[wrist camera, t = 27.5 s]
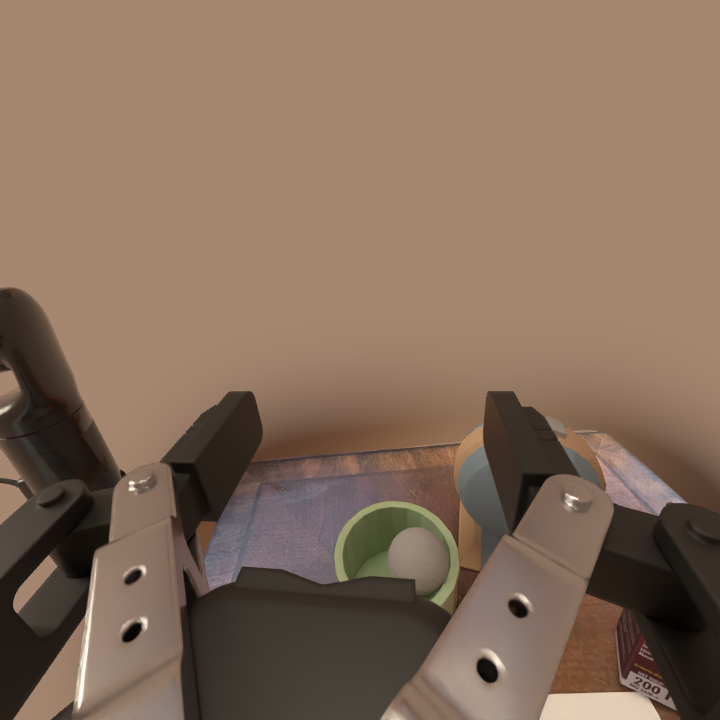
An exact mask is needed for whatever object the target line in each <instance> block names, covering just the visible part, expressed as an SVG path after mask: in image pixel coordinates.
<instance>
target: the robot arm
mask: <svg viewBox="0 0 720 720" xmlns="http://www.w3.org/2000/svg"><path fill="white" fill-rule="evenodd" d="M7 371H13V374H14V375H15V378H16V380H17V383H18V385H19V387H17V388H15V389H13V390H12V391H9V392H8V393H6V394H4V395H2V396H0V449H1V450H2V452H3V453H4V454H5V455H6V457H7V458H8V460H9V461H10V463H11V464H12V465H13V467H14V468H15V469H16V471H17V472H18V474H19V475H20V477H21V478H20V479H19V480H18V481H16V480H11V479H3V478H0V483H5V484H10V485H14V486H16V487H18V488H19V489H20V490H21V491H22V493H23V494H24V496H25V497H26V498H27V500H28V501H27V502H26V503H24V504H23V505H22V506H21V507H20V508H19V509H18V510H17V511H15V512H14V513H13V514H12V515H11V516H10V517H9V518H8V519H6V520H5V521H4V522H3V523H2V524H1V525H0V720H13V719H14V717H15V716H16V715H17V713H18V712H19V710H20V709H21V707H22V706H23V704H24V703H25V701H26V700H27V699H28V697H29V696H30V694H31V693H32V691H33V690H34V688H35V687H36V686H37V684H38V683H39V681H40V680H41V678H42V677H43V675H44V674H45V673H46V671H47V670H48V668H49V667H50V665H51V664H52V662H53V661H54V660H55V658H56V657H57V655H58V654H59V652H60V651H61V649H62V648H63V646H64V645H65V643H66V642H67V641H68V639H69V638H70V636H71V635H72V633H73V632H74V630H75V629H76V628H77V626H78V625H79V623H80V622H81V620H82V619H83V618H84V616H85V615H86V618H85V626H84V633H83V641H82V648H81V656H80V663H79V671H78V678H77V685H76V693H75V700H74V701H73V702H71V703H70V704H69V705H68V706H67V707H66V708H64V709H63V710H62V711H61V712H59V713H58V714H57V715H56V716H55V717H54V718H52V719H51V720H539V719H540V716H541V714H542V711H543V708H544V705H545V703H546V700H547V697H548V694H549V691H550V689H551V686H552V683H553V680H554V678H555V675H556V672H557V669H558V667H559V664H560V661H561V658H562V655H563V653H564V650H565V647H566V644H567V642H568V639H569V636H570V633H571V630H572V628H573V625H574V622H575V619H576V617H577V614H578V611H579V608H580V606H581V603H582V600H583V597H584V594H585V593H586V594H589V595H591V596H594V597H597V598H599V599H602V600H605V601H607V602H610V603H613V604H615V605H618V606H621V607H624V608H626V609H629V610H630V611H631V613H632V615H633V617H634V620H635V622H636V624H637V626H638V628H639V630H640V632H641V635H642V637H643V639H644V641H645V643H646V645H647V647H648V650H649V652H650V654H651V656H652V658H653V660H654V662H655V664H656V667H657V669H658V671H659V673H660V675H661V677H662V679H663V682H664V684H665V686H666V688H667V690H668V692H669V694H670V697H671V699H672V701H673V703H674V705H675V707H676V709H677V712H678V714H679V716H680V718H681V720H720V515H719V514H717V513H714V512H712V511H710V510H708V509H705V508H702V507H699V506H695V505H691V504H684V503H675V504H670V505H667V506H665V507H664V508H663V509H662V511H661V513H660V515H659V516H656V515H652V514H648V513H644V512H641V511H637V510H633V509H629V508H626V507H623V506H619V505H617V504H614V503H612V501H611V499H610V497H609V496H608V495H607V494H606V493H605V492H604V491H603V490H602V489H601V488H600V487H598V486H597V485H596V484H594V483H592V482H590V481H588V480H586V479H584V478H581V477H580V475H579V473H578V472H577V470H576V468H575V467H574V465H573V463H572V462H571V460H570V458H569V457H568V455H567V453H566V452H565V450H564V448H563V447H562V445H561V443H560V441H558V438H557V436H556V435H555V433H554V431H552V428H551V426H550V425H549V423H548V421H547V420H546V418H545V417H544V416H543V415H542V414H540V413H539V412H538V411H536V410H535V409H534V408H533V407H522V406H521V405H520V403H519V401H518V399H517V397H516V395H515V393H514V392H513V391H489V392H488V393H487V397H486V406H485V415H484V425H483V444H484V449H485V452H486V456H487V459H488V462H489V466H490V469H491V473H492V476H493V479H494V483H495V486H496V489H497V493H498V496H499V499H500V503H501V506H502V509H503V513H504V516H505V520H506V523H507V526H508V530H509V533H510V534H509V533H506V534H505V535H504V536H503V537H502V539H501V540H500V542H499V543H498V545H497V547H496V548H495V550H494V551H493V553H492V554H491V556H490V558H489V559H488V561H487V562H486V564H485V566H484V567H483V569H482V570H481V572H480V574H479V575H478V577H477V578H476V580H475V581H474V583H473V585H472V586H471V588H470V589H469V591H468V593H467V594H466V596H465V597H464V599H463V601H462V602H461V604H460V605H459V607H458V608H457V610H456V612H455V613H454V615H453V616H452V615H451V614H450V613H449V612H448V611H446V610H445V609H443V608H442V607H440V606H439V605H437V604H436V603H434V602H432V601H430V600H428V599H426V598H424V597H421V596H419V595H416V586H415V579H406V578H392V577H378V576H368V577H362V578H357V579H352V580H347V581H342V582H337V583H332V584H325V585H324V584H319V583H316V582H313V581H311V580H308V579H306V578H303V577H300V576H298V575H295V574H293V573H290V572H287V571H285V570H282V569H268V568H254V567H242V568H241V570H240V572H239V575H238V577H237V580H236V582H233V583H229V584H226V585H223V586H220V587H218V588H216V589H214V590H211V591H210V590H209V585H208V580H207V575H206V569H205V564H204V558H203V553H202V548H201V542H200V536H199V533H198V530H197V527H198V526H199V524H200V522H201V521H212V522H217V521H218V519H219V517H220V515H221V514H222V512H223V510H224V508H225V506H226V505H227V503H228V501H229V499H230V497H231V496H232V494H233V492H234V490H235V488H236V487H237V485H238V483H239V481H240V479H241V478H242V476H243V474H244V472H245V470H246V469H247V467H248V465H249V463H250V462H251V460H252V458H253V456H254V454H255V453H256V451H257V449H258V447H259V445H260V443H261V440H262V435H263V428H262V423H261V420H260V416H259V412H258V408H257V404H256V400H255V396H254V394H253V393H252V392H250V391H243V392H242V391H237V392H236V391H231V392H228V393H227V394H226V395H225V397H224V398H223V399H222V400H221V401H220V403H219V404H218V405H215V406H213V407H212V408H210V409H209V410H207V411H206V412H204V413H202V414H201V415H200V417H199V418H198V419H197V420H196V421H195V422H194V424H193V426H191V427H190V428H189V429H188V430H187V431H186V434H184V435H183V436H182V437H181V438H180V439H179V440H178V441H177V443H176V444H175V445H174V446H173V447H172V448H171V449H170V450H169V452H168V453H167V454H166V455H165V456H164V457H163V458H162V460H161V461H160V462H159V463H151V464H147V465H144V466H141V467H139V468H137V469H135V470H133V471H131V472H130V473H128V474H127V475H126V474H125V472H124V471H122V470H120V469H119V467H118V465H117V463H116V462H115V460H114V458H113V456H112V454H111V452H110V450H109V448H108V446H107V445H106V443H105V441H104V439H103V437H102V435H101V433H100V431H99V429H98V427H97V426H96V424H95V422H94V420H93V418H92V416H91V415H90V413H89V411H88V409H87V407H86V405H85V403H84V401H83V399H82V397H81V395H80V393H79V391H78V388H77V384H76V381H75V377H74V375H73V372H72V370H71V368H70V366H69V363H68V361H67V359H66V357H65V355H64V353H63V351H62V348H61V346H60V344H59V341H58V339H57V336H56V334H55V332H54V329H53V327H52V325H51V323H50V321H49V319H48V317H47V315H46V313H45V312H44V310H43V308H42V307H41V306H40V304H39V303H38V302H37V301H36V300H35V299H34V298H33V297H32V296H31V295H30V294H28V293H27V292H25V291H23V290H21V289H18V288H13V287H3V288H0V373H1V372H7ZM123 476H124V477H123ZM48 555H49V556H50V557H51V558H52V559H53V561H54V562H55V563H56V565H57V566H58V567H57V568H56V569H55V570H54V571H53V573H52V574H51V575H50V576H49V577H48V578H47V580H46V581H45V582H44V583H43V584H42V585H41V587H40V588H39V589H38V590H37V591H36V592H35V594H34V595H33V596H32V597H31V598H30V600H29V601H28V602H27V603H26V604H25V605H24V607H23V608H22V609H21V610H20V611H19V613H18V614H17V613H16V612H15V611H14V608H13V600H14V596H15V594H16V592H17V590H18V589H19V587H20V586H21V585H22V583H24V581H25V580H26V579H27V578H28V577H29V576H30V575H31V574H32V573H33V571H34V570H35V569H36V568H37V567H38V566H39V565H40V563H42V561H43V560H44V559H45V558H46V557H47V556H48Z"/></svg>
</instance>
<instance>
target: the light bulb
mask: <svg viewBox="0 0 720 720" xmlns="http://www.w3.org/2000/svg"><path fill="white" fill-rule="evenodd" d="M388 568H389V572H390V574H391V577H392V578H406V579H415V586H416V595H419V596H421V597H426V596H429V595H431V594H433V593H435V592H436V591H438V590H439V589H440V588H441V586H442V585H443V583H444V581H445V579H446V577H447V574H448V556H447V552H446V550H445V547H444V545H443V543H442V542H441V540H440V539H439V538H438V537H437V536H436V535H435V534H434V533H432V532H431V531H429V530H427V529H424V528H421V527H412V528H408V529H405V530H403V531H402V532H400V533H399V534H398V535H396V537H395V538H394V539H393V541H392V543H391V545H390V548H389V551H388Z"/></svg>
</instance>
